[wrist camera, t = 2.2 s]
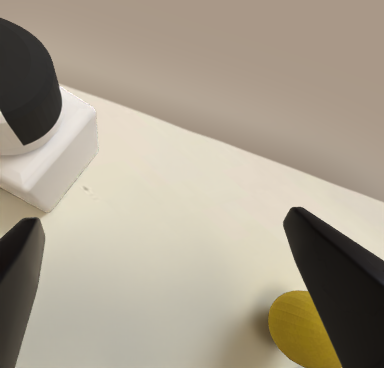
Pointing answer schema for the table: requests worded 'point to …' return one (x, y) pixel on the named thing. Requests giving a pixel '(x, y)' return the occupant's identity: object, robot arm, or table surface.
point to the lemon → (301, 331)
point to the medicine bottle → (39, 123)
